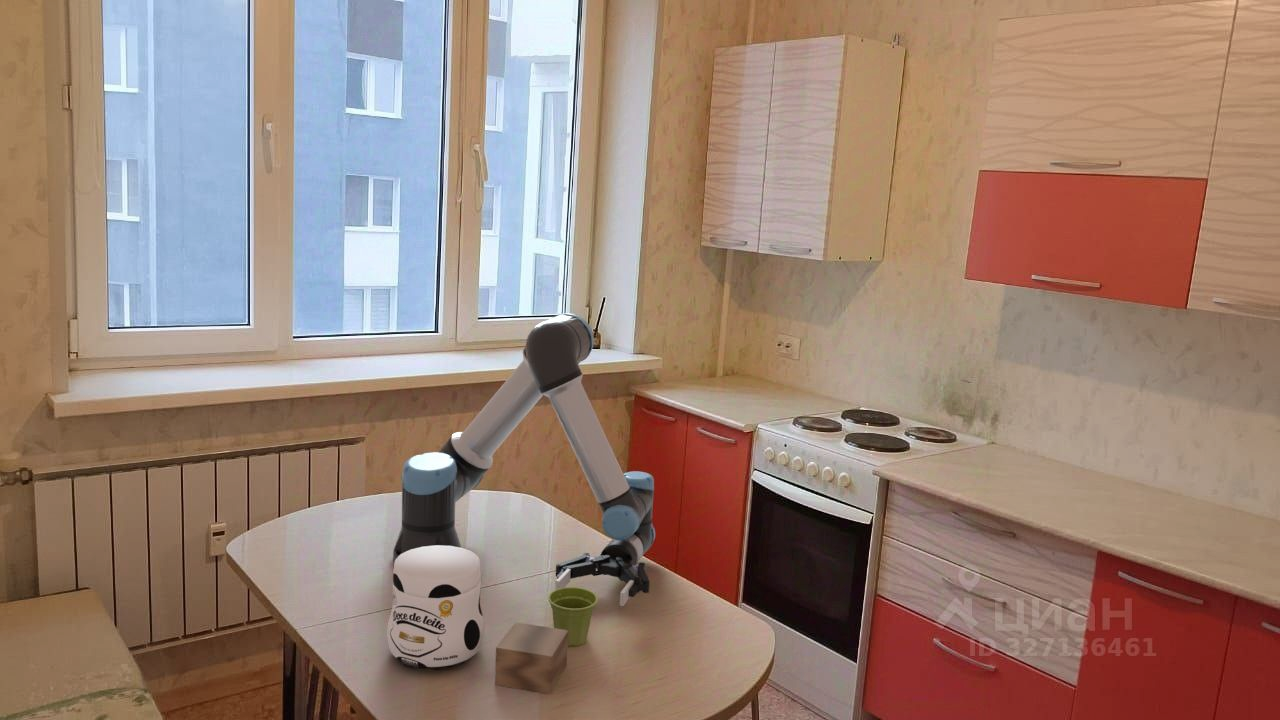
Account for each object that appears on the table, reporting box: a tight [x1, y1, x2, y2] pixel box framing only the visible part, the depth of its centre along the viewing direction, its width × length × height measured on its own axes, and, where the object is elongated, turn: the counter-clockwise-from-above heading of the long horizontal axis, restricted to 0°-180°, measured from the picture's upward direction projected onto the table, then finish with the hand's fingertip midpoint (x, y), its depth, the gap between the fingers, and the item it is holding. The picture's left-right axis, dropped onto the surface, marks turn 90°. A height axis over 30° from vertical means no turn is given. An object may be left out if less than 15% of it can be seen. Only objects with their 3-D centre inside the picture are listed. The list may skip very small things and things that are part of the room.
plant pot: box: [547, 586, 599, 647], centre depth 185 cm, size 9×9×9 cm
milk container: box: [386, 545, 485, 670], centre depth 176 cm, size 17×17×18 cm
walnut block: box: [494, 621, 569, 695], centre depth 171 cm, size 10×10×7 cm
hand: (589, 593), depth 192 cm, fingers open, 13 cm apart
